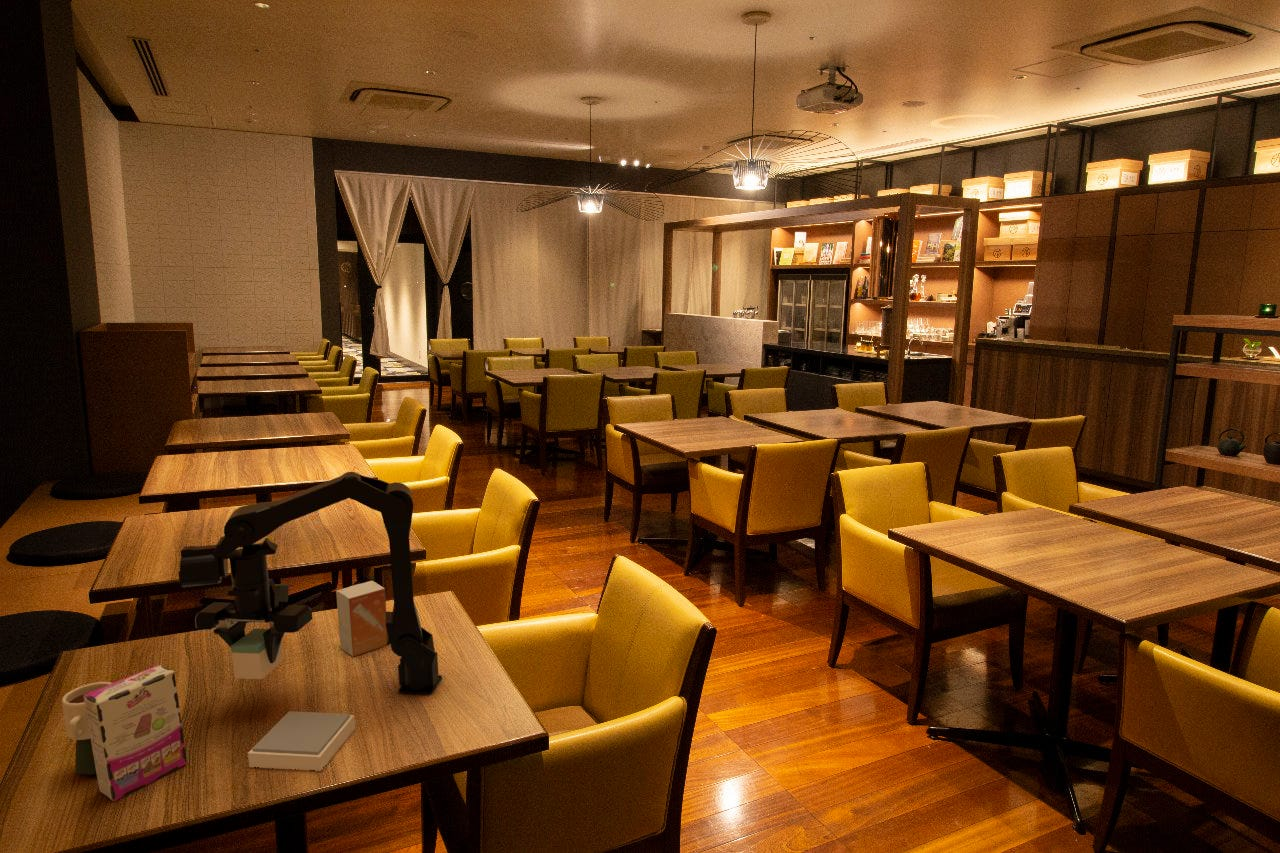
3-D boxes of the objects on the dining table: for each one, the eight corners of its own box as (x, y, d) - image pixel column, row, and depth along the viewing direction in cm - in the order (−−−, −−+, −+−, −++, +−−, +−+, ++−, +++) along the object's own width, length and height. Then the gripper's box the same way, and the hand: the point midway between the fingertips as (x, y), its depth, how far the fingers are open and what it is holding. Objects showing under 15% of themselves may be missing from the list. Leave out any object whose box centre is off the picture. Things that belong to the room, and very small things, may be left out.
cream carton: (283, 660, 142) (280, 629, 141) (261, 679, 135) (258, 647, 134) (257, 658, 143) (254, 628, 142) (234, 678, 136) (230, 646, 135)
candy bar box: (172, 754, 128) (160, 662, 125) (188, 764, 125) (176, 670, 122) (96, 792, 118) (81, 693, 115) (112, 803, 116) (97, 702, 113)
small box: (352, 657, 160) (348, 598, 158) (339, 647, 165) (335, 589, 162) (389, 645, 166) (385, 587, 163) (376, 635, 170) (371, 579, 168)
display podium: (355, 728, 135) (354, 712, 134) (321, 771, 123) (319, 754, 123) (289, 725, 136) (287, 709, 135) (249, 767, 124) (247, 750, 124)
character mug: (105, 786, 120) (94, 709, 117) (55, 790, 119) (43, 713, 116) (140, 745, 130) (131, 674, 128) (94, 749, 129) (84, 677, 127)
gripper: (323, 564, 143) (330, 643, 146) (227, 561, 145) (236, 639, 147) (291, 587, 132) (299, 672, 135) (188, 584, 134) (198, 668, 137)
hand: (258, 661), depth 139 cm, fingers closed on cream carton, 5 cm apart
